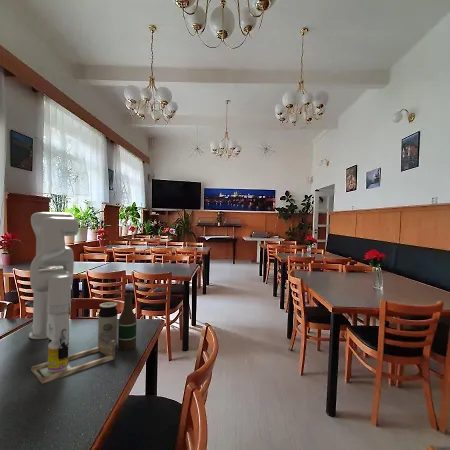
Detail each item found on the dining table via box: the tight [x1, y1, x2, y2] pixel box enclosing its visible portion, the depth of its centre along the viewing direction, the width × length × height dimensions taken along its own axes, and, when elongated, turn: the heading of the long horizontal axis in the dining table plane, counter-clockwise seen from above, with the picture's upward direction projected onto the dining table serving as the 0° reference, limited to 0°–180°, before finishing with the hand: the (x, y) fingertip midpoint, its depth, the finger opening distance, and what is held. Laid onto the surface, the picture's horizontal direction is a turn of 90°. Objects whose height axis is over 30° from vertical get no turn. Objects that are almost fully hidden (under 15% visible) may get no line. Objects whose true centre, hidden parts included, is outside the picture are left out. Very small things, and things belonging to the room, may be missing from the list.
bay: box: [30, 332, 117, 384], centre depth 115 cm, size 27×14×7 cm, turn 138°
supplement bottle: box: [47, 338, 70, 373], centre depth 111 cm, size 7×7×13 cm
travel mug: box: [97, 301, 119, 344], centre depth 135 cm, size 8×8×18 cm
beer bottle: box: [117, 292, 137, 351], centre depth 132 cm, size 8×8×24 cm
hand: (58, 353), depth 111 cm, fingers open, 9 cm apart
